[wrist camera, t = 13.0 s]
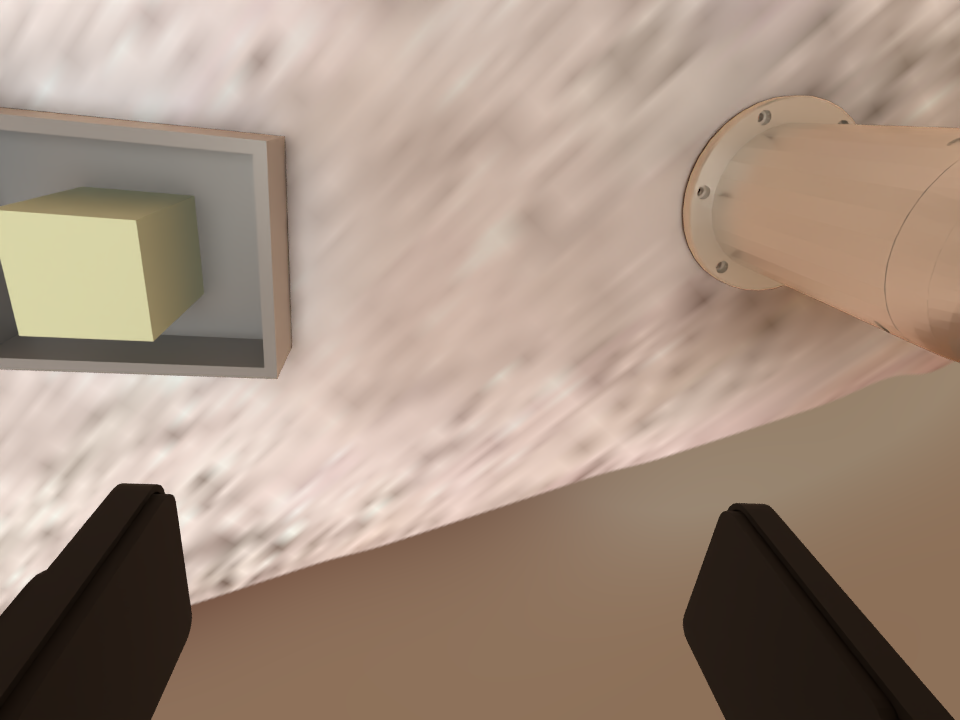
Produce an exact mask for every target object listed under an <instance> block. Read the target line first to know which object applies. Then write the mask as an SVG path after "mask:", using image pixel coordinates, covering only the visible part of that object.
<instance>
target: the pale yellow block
mask: <svg viewBox="0 0 960 720" xmlns="http://www.w3.org/2000/svg"><path fill="white" fill-rule="evenodd" d="M0 260H1V264H2V268H3V272H4V276H5V280H6V284H7V288H8V292H9V296H10V300H11V305H12V309H13V313H14V317H15V321H16V325H17V329H18V333H19V336H35V337H58V338H82V339H106V340H130V341H154V340H155V339H157V338H158V337H159V336H160V335H161V334H162V333H163V332H164V331H165V330H166V329H167V328H168V327H169V326H170V325H171V324H172V323H173V322H175V321H176V320H177V319H178V318H179V317H180V316H181V315H182V314H183V313H184V312H185V311H186V310H187V309H188V308H189V307H190V306H191V305H193V304H194V303H195V302H196V301H197V300H198V299H199V298H200V297H201V296H202V295H203V294H204V287H203V277H202V267H201V257H200V247H199V237H198V227H197V217H196V207H195V197H194V196H191V195H179V194H166V193H154V192H142V191H130V190H118V189H106V188H94V187H78V188H74V189H70V190H66V191H62V192H58V193H53V194H49V195H45V196H41V197H37V198H33V199H29V200H25V201H21V202H16V203H12V204H8V205H4V206H0Z"/></svg>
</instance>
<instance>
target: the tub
mask: <svg viewBox="0 0 960 720" xmlns="http://www.w3.org/2000/svg"><path fill="white" fill-rule="evenodd" d="M78 187H94V188H106V189H118V190H130V191H142V192H154V193H166V194H179V195H191V196H194V197H195V207H196V217H197V227H198V237H199V247H200V257H201V267H202V277H203V287H204V294H203V295H202V296H201V297H200V298H199V299H198V300H197V301H196V302H195V303H194V304H193V305H191V306H190V307H189V308H188V309H187V310H186V311H185V312H184V313H183V314H182V315H181V316H180V317H179V318H178V319H177V320H176V321H175V322H173V323H172V324H171V325H170V326H169V327H168V328H167V329H166V330H165V331H164V332H163V333H162V334H161V335H160V336H159V337H158V338H157V339H155V340H154V341H130V340H106V339H82V338H58V337H35V336H19V333H18V329H17V325H16V321H15V317H14V313H13V309H12V305H11V300H10V296H9V292H8V288H7V284H6V280H5V276H4V272H3V268H2V264H1V260H0V369H4V370H33V371H62V372H91V373H120V374H148V375H177V376H206V377H235V378H264V379H278V376H279V374H280V372H281V370H282V368H283V365H284V363H285V361H286V359H287V356H288V354H289V352H290V350H291V348H292V335H291V305H290V275H289V246H288V216H287V187H286V157H285V137H284V136H275V135H265V134H255V133H246V132H236V131H226V130H217V129H207V128H197V127H188V126H178V125H168V124H159V123H149V122H139V121H129V120H120V119H110V118H100V117H91V116H81V115H71V114H62V113H52V112H42V111H33V110H23V109H13V108H4V107H0V206H4V205H8V204H12V203H16V202H21V201H25V200H29V199H33V198H37V197H41V196H45V195H49V194H53V193H58V192H62V191H66V190H70V189H74V188H78Z"/></svg>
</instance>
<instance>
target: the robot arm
mask: <svg viewBox="0 0 960 720" xmlns="http://www.w3.org/2000/svg"><path fill="white" fill-rule="evenodd" d="M758 116H759V119H758ZM699 188H700V192H699V193H698V194H697V192H698V190H699ZM683 222H684V232H685V235H686V239H687V243H688V246H689V248H690V250H691V252H692V254H693V256H694V258H695V260H696V261H697V262H698V263H699V264H700V265H701V267H702V268H703V269H704V270H705V271H706V272H707V273H709V274H710V275H712V276H713V277H714V278H716V279H717V280H719V281H721V282H723V283H725V284H727V285H729V286H732V287H736V288H739V289H743V290H756V291H759V290H767V289H775V288H778V287H781V286H784V285H786V286H788V287H790V288H792V289H794V290H797V291H799V292H801V293H803V294H805V295H808V296H810V297H812V298H814V299H816V300H819V301H821V302H823V303H825V304H827V305H829V306H832V307H834V308H836V309H838V310H840V311H843V312H845V313H847V314H849V315H851V316H854V317H856V318H858V319H860V320H862V321H865V322H867V323H869V324H871V325H873V326H876V327H878V328H880V329H882V330H884V331H886V332H889V333H891V334H893V335H895V336H897V337H900V338H902V339H904V340H906V341H908V342H911V343H913V344H915V345H917V346H919V347H922V348H924V349H926V350H929V351H931V352H933V353H935V354H937V355H940V356H942V357H945V358H948V359H950V360H953V361H956V362H960V128H943V127H913V126H883V125H856V123H855V122H854V120H853V119H852V118H851V117H850V116H849V115H848V114H847V113H846V112H845V111H844V110H843V109H842V108H840V107H839V106H837V105H835V104H833V103H832V102H830V101H828V100H825V99H821V98H817V97H814V96H784V97H776V98H772V99H769V100H766V101H763V102H760V103H757V104H755V105H754V106H752V107H750V108H748V109H746V110H744V111H742V112H741V113H739V114H738V115H737V116H735V117H734V118H733V119H732V120H730V121H729V122H728V123H726V124H725V125H724V126H723V127H722V128H721V129H720V130H719V132H718V133H717V134H716V135H715V136H714V137H713V138H712V139H711V140H710V142H709V143H708V145H707V146H706V148H705V149H704V151H703V152H702V153H701V155H700V156H699V158H698V160H697V162H696V165H695V167H694V169H693V171H692V173H691V175H690V179H689V182H688V185H687V189H686V192H685V198H684V207H683ZM717 264H718V265H717ZM191 621H192V613H191V605H190V598H189V591H188V584H187V577H186V570H185V563H184V556H183V549H182V542H181V535H180V528H179V521H178V514H177V507H176V501H175V497H174V496H173V495H171V494H165V492H164V489H163V488H162V486H161V485H158V484H127V483H122V484H119V485H117V486H116V487H115V488H114V489H113V490H112V491H111V492H110V493H109V495H108V496H107V497H106V498H105V500H104V501H103V502H102V503H101V504H100V506H99V507H98V508H97V509H96V510H95V512H94V513H93V514H92V515H91V517H90V518H89V519H88V520H87V521H86V523H85V524H84V525H83V526H82V528H81V529H80V530H79V531H78V532H77V534H76V535H75V536H74V537H73V539H72V540H71V541H70V542H69V543H68V545H67V546H66V547H65V548H64V549H63V551H62V552H61V553H60V554H59V556H58V557H57V558H56V559H55V560H54V562H53V563H52V564H51V565H50V567H49V568H48V569H47V570H45V571H43V572H41V573H39V574H37V575H36V576H35V577H34V578H33V579H32V580H31V581H30V582H29V583H28V584H27V585H26V586H25V587H24V588H23V589H22V591H21V592H20V593H19V594H18V595H17V597H16V598H15V599H14V600H13V601H12V603H11V604H10V605H9V606H8V607H7V608H6V610H5V611H4V612H3V613H2V614H1V616H0V720H151V718H152V716H153V714H154V712H155V709H156V707H157V705H158V703H159V701H160V698H161V696H162V694H163V692H164V689H165V687H166V685H167V683H168V681H169V678H170V676H171V674H172V672H173V670H174V667H175V665H176V663H177V661H178V658H179V656H180V653H181V652H182V650H183V647H184V645H185V643H186V641H187V638H188V635H189V632H190V627H191ZM683 628H684V633H685V637H686V639H687V641H688V644H689V646H690V647H691V650H692V651H693V654H694V656H695V658H696V660H697V662H698V664H699V666H700V668H701V670H702V672H703V674H704V676H705V678H706V680H707V682H708V685H709V686H710V689H711V691H712V693H713V695H714V697H715V699H716V701H717V703H718V705H719V707H720V709H721V711H722V713H723V715H724V717H725V719H726V720H954V718H953V717H952V716H951V715H950V714H949V713H948V711H947V710H946V709H945V708H944V707H943V706H942V704H941V703H940V702H939V701H938V700H937V699H936V697H935V696H934V695H933V694H932V693H931V692H930V691H929V689H928V688H927V687H926V686H925V685H924V684H923V682H922V681H921V680H920V679H919V678H918V677H917V675H916V674H915V673H914V672H913V671H912V670H911V669H910V667H909V666H908V665H907V664H906V663H905V662H904V660H903V659H902V658H901V657H900V656H899V655H898V653H897V652H896V651H895V650H894V649H893V648H892V646H891V645H890V644H889V643H888V642H887V641H886V640H885V638H884V637H883V636H882V635H881V634H880V633H879V631H878V630H877V629H876V628H875V627H874V626H873V624H872V623H871V622H870V621H869V620H868V619H867V618H866V616H865V615H864V614H863V613H862V612H861V611H860V610H859V608H858V607H857V606H856V605H855V604H854V603H853V601H852V600H851V599H850V598H849V597H848V596H847V594H846V593H845V592H844V591H843V590H842V589H841V587H839V585H838V584H837V583H836V582H835V581H834V579H833V578H832V577H831V576H830V575H829V573H828V572H827V571H826V570H825V569H824V568H823V567H822V565H821V564H820V563H819V562H818V561H817V560H816V558H815V557H814V556H813V555H812V554H811V553H810V552H809V550H808V549H807V548H806V547H805V546H804V544H803V543H802V542H801V541H800V540H799V539H798V538H797V536H796V535H795V534H794V533H793V532H792V531H791V530H790V528H789V527H788V526H787V525H786V524H785V522H784V521H783V520H782V519H781V518H780V517H779V515H778V514H777V513H776V512H775V511H774V510H773V509H772V508H771V507H770V506H768V505H765V504H747V503H746V504H745V503H735V504H732V505H731V506H730V507H729V509H728V510H727V511H724V512H723V513H721V515H720V517H719V519H718V522H717V525H716V528H715V530H714V533H713V536H712V539H711V542H710V544H709V547H708V550H707V553H706V556H705V558H704V561H703V564H702V567H701V570H700V573H699V575H698V578H697V581H696V584H695V586H694V589H693V592H692V595H691V597H690V600H689V603H688V606H687V609H686V612H685V614H684V618H683Z"/></svg>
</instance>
